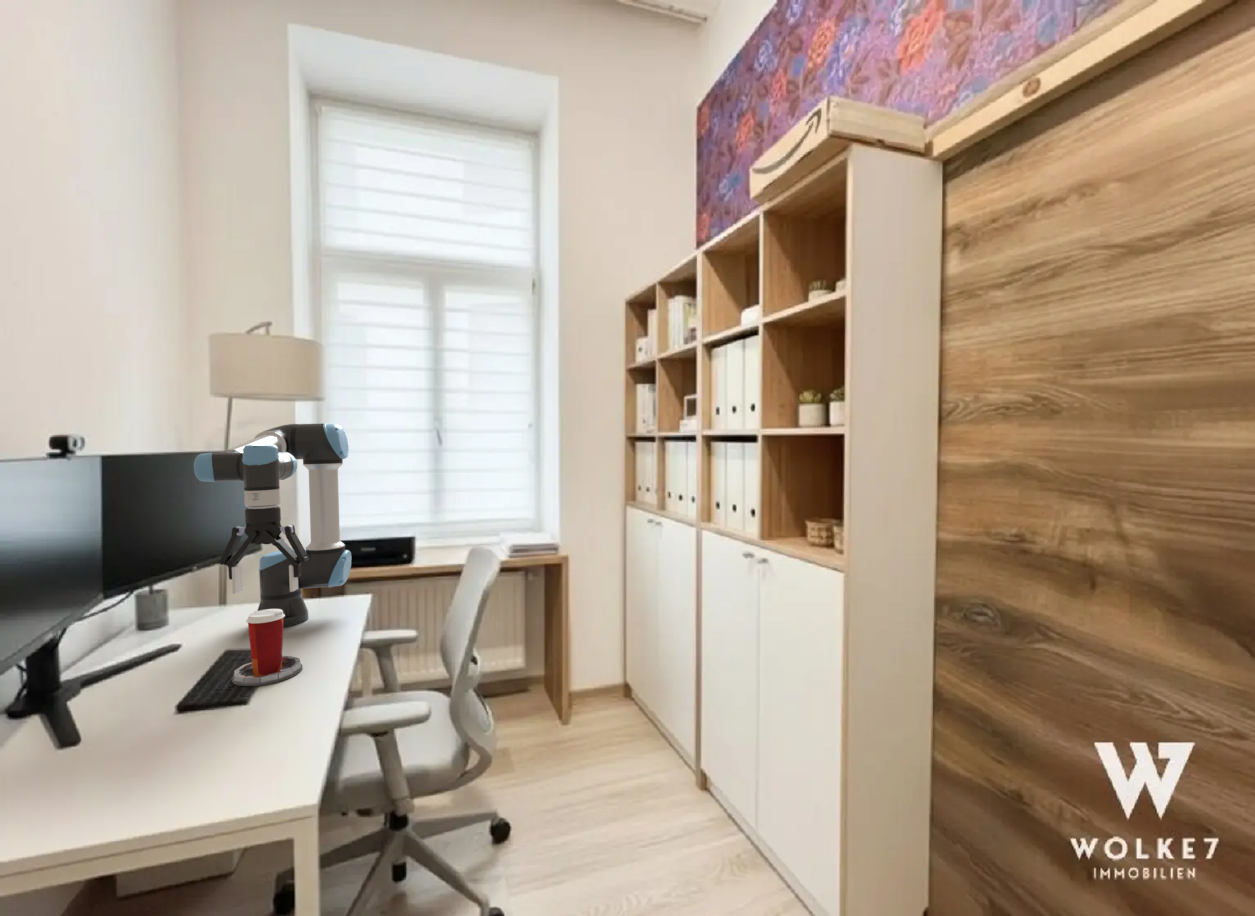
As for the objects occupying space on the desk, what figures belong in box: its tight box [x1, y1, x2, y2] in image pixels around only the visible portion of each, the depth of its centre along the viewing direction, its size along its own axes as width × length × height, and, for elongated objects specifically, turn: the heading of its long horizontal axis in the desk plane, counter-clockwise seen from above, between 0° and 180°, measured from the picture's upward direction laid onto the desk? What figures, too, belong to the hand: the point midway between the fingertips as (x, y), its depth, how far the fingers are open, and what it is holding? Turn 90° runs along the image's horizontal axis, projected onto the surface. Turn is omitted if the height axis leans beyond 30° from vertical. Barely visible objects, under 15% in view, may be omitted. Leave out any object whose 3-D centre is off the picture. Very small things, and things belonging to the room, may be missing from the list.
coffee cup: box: [246, 609, 285, 676], centre depth 145 cm, size 8×8×15 cm
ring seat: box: [231, 655, 303, 688], centre depth 145 cm, size 15×15×2 cm
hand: (266, 591), depth 144 cm, fingers open, 13 cm apart
